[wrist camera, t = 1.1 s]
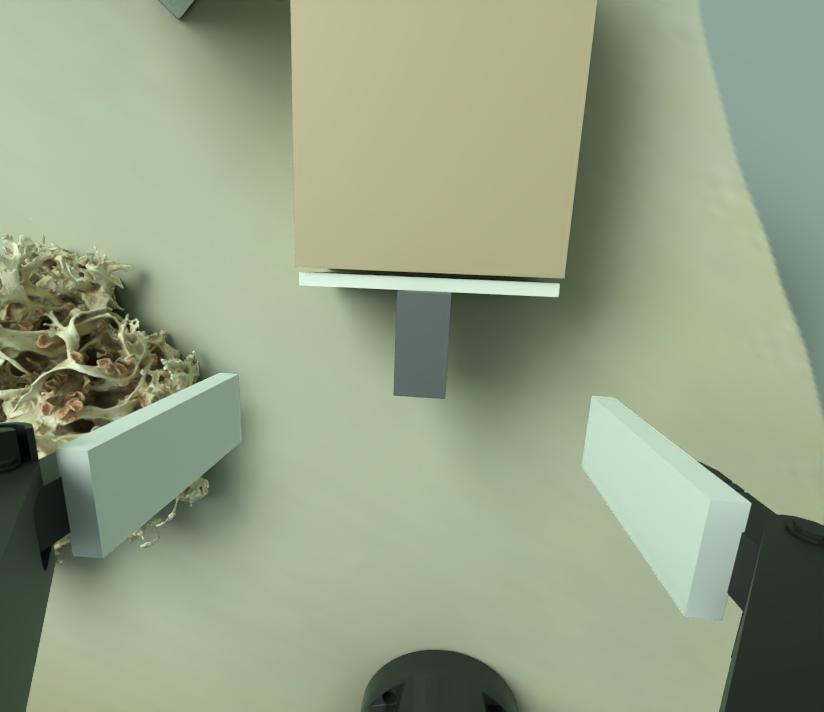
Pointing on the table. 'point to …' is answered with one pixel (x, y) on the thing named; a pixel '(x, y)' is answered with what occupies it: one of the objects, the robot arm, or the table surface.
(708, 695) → the table surface
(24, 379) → the dried lichen
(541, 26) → the sleeve
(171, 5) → the ink cartridge box
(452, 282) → the tray
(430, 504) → the table surface
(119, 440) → the robot arm
